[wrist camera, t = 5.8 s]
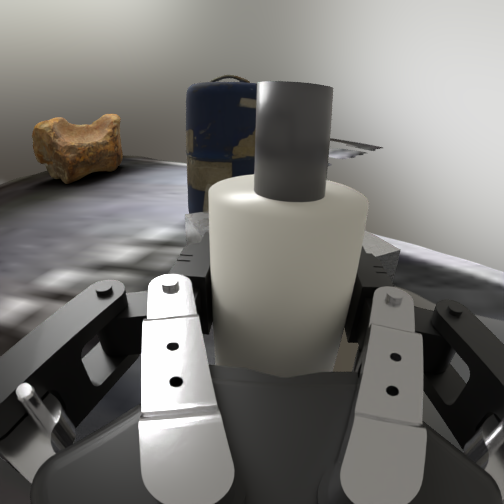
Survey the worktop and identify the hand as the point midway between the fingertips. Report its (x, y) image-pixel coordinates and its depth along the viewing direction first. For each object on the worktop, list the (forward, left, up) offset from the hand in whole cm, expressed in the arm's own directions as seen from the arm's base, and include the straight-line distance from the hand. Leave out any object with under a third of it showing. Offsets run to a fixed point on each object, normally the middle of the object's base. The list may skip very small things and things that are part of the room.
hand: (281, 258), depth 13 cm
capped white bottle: (-1, -2, -9) cm, 9 cm away
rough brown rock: (-13, +67, -9) cm, 69 cm away
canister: (+8, +26, -9) cm, 28 cm away
